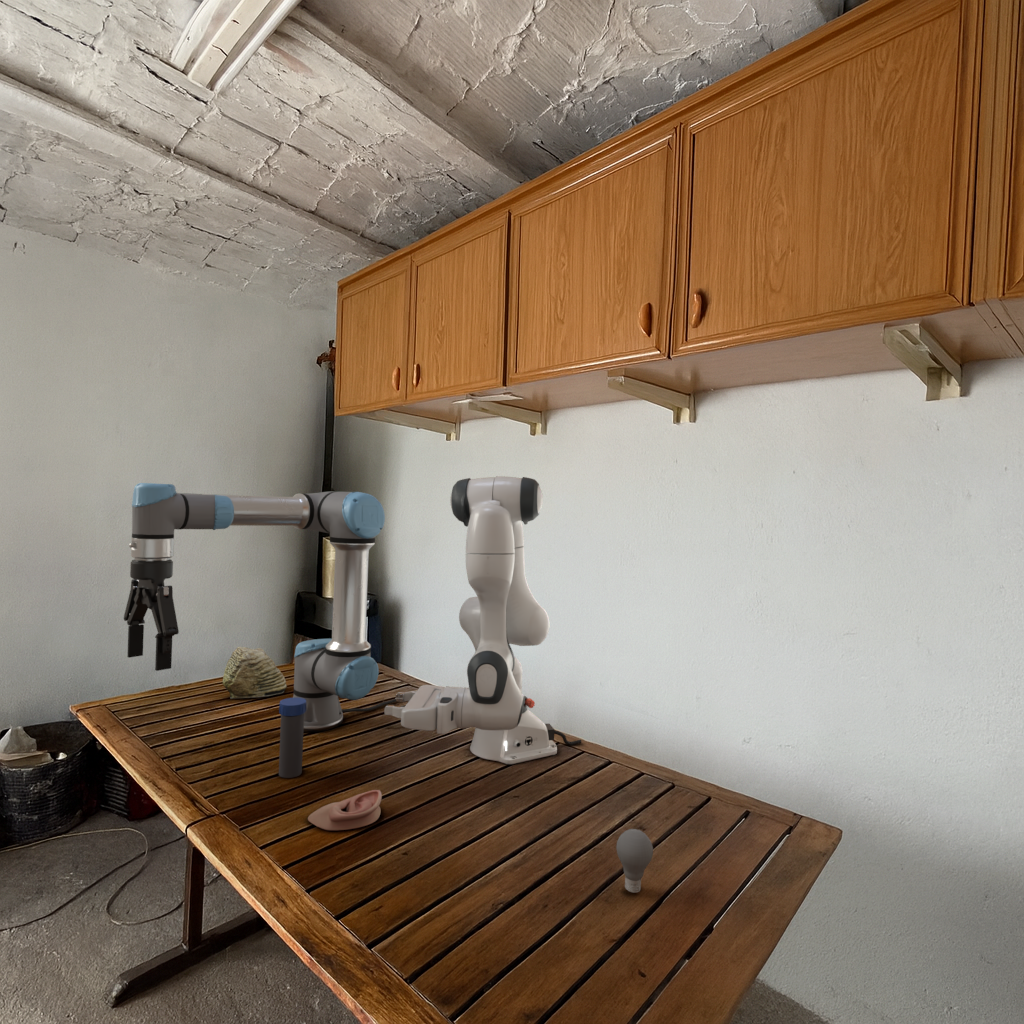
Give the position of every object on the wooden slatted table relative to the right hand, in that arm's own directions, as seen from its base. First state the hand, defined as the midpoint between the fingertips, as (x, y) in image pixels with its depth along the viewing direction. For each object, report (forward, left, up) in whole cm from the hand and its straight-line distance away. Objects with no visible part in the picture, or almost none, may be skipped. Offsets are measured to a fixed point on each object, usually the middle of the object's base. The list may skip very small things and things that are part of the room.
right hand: (390, 702), depth 143 cm
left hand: (+49, -5, +11) cm, 50 cm away
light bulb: (-31, +53, -17) cm, 64 cm away
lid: (+20, -9, -1) cm, 23 cm away
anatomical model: (+11, +15, -17) cm, 25 cm away
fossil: (+29, -70, -17) cm, 78 cm away
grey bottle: (+20, -9, -17) cm, 28 cm away
